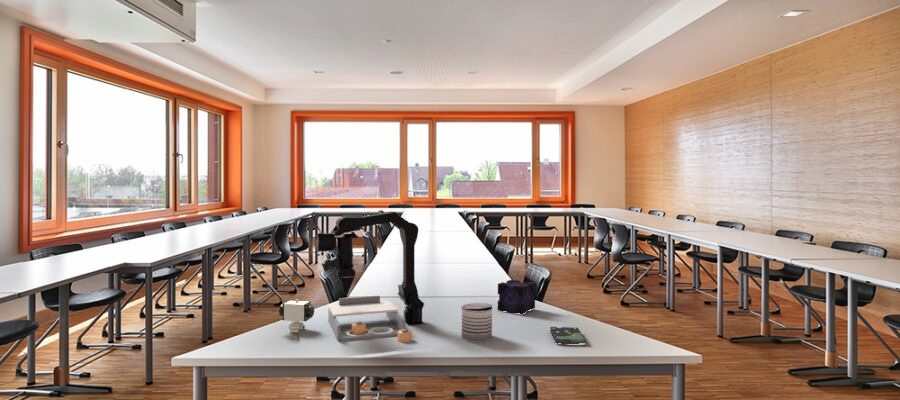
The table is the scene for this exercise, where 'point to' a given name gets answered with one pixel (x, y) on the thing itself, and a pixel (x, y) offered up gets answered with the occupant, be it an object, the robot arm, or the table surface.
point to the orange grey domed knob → (359, 328)
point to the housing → (368, 328)
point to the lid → (361, 306)
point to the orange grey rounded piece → (404, 335)
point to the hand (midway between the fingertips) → (345, 291)
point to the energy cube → (516, 296)
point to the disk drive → (567, 335)
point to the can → (477, 322)
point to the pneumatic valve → (296, 313)
